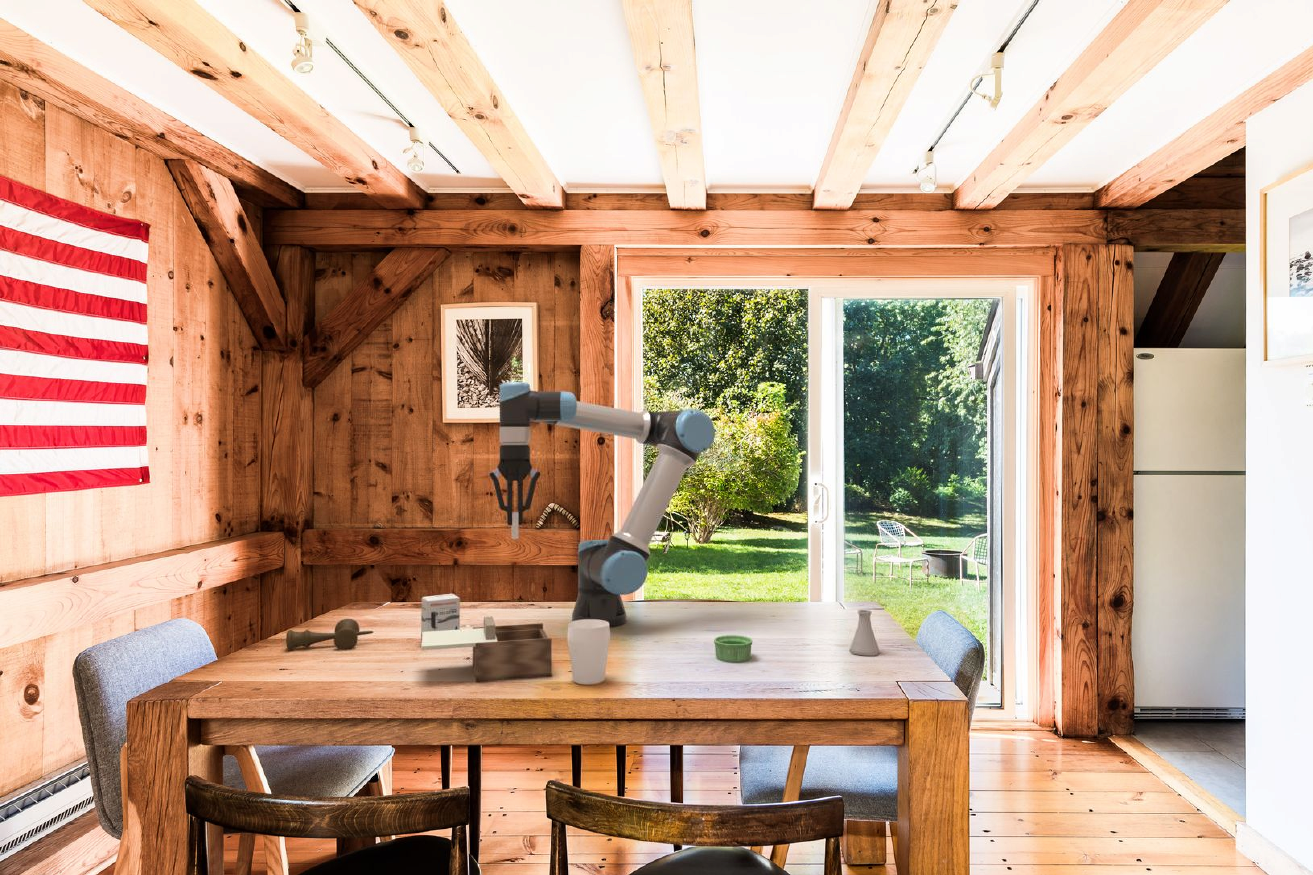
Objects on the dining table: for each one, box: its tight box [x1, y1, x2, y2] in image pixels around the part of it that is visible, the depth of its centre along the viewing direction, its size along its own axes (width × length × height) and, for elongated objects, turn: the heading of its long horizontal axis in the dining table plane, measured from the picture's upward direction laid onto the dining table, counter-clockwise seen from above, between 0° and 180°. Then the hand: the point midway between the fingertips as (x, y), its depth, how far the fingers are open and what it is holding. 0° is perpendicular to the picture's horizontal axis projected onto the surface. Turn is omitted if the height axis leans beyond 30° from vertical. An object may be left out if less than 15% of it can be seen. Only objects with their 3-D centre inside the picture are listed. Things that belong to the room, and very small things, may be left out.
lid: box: [421, 616, 497, 651], centre depth 177 cm, size 16×13×4 cm
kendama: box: [285, 618, 374, 652], centre depth 201 cm, size 6×10×20 cm
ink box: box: [420, 593, 461, 645], centre depth 203 cm, size 8×5×12 cm, turn 123°
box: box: [472, 622, 553, 683], centre depth 180 cm, size 16×15×8 cm
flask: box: [849, 609, 881, 657], centre depth 194 cm, size 7×7×10 cm
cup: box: [566, 619, 611, 686], centre depth 172 cm, size 9×9×12 cm
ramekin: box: [713, 634, 753, 663], centre depth 190 cm, size 9×9×4 cm
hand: (514, 538), depth 203 cm, fingers closed
